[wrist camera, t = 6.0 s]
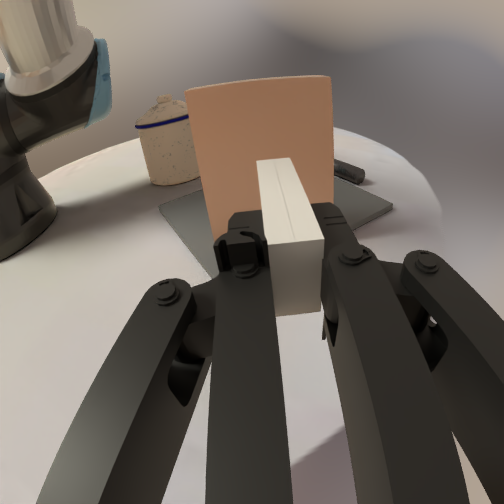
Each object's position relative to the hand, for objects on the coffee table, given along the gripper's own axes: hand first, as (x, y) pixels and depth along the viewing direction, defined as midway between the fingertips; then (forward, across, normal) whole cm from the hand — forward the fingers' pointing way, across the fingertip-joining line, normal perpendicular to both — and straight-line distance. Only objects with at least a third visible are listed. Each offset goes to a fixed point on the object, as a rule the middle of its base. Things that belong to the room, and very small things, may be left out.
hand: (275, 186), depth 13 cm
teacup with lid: (+28, -12, -8) cm, 32 cm away
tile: (+7, 0, -7) cm, 10 cm away
